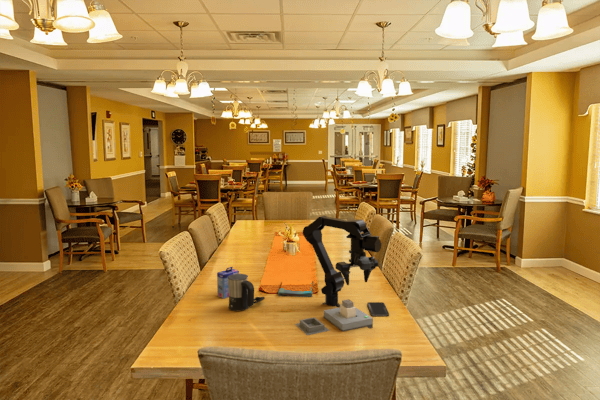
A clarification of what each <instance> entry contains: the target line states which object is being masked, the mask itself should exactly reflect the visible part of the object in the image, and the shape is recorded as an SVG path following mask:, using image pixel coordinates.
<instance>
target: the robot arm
mask: <svg viewBox="0 0 600 400" xmlns="http://www.w3.org/2000/svg"><path fill="white" fill-rule="evenodd" d="M325 227H330V228H335V229H339V230H344V231H345V232H347V233H348V234H347V235H346V238H347V239H350V250H349V251H348V253H349V254H350V258H349V259H348V262H345V261H337V262H336V263H335V267H334V265H333V263H332V260H331V259H330V256H329V254H328V252H327V250H326V247H325V245H324V243H323V233H322V231H323V229H325ZM302 236H303V237H304V239H305V240H306V242H308V243H309V244H310V245H311V246H312V248H313V250H314V253H315V255H316V257H317V260H318V262H319V265H320V266H321V269H322V271H323V273H324V283H325V284H324V286H323V287H322V288H321V289H320V291H321V294H322V295H325V296H324V300H325V301H324V302H322V304H321V305H323V306H325V305H327V306H330V307H336V308H340V303H339V293H338V292H341V291H342V288H344V285H345V284H346V285H347V286H349V285H350V274H351V271H350V270H351V269H352V268H357V267H359V269H360V270H361V271H363V279H364V283H368V280H369V278H370V275H371V272H372V271H373V270H375V269H376V268H377V267H379V261H378V259H376V258H375V256H367V253H366V251H367V252H373V253H379V252H380V251H381V249H382V241H381V239H380V236H379V235H372V233H371V232H370V230H369V228H368V226H367V224H366V222H365V220H364V219H342V218H338V217H337V218H336V217H330V216H327V215H321V216H318V217H317V218H316V219H315V220H314V221H312V222H311V223H310V224H308V225H306V226H304V228H303V230H302Z"/></svg>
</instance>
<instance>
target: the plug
mask: <svg viewBox="0 0 600 400" xmlns="http://www.w3.org/2000/svg"><path fill="white" fill-rule="evenodd" d="M339 304H340V303H339ZM355 307H356V306H354V302H353V301H352V300H350V299H343V300H341V304H340V306H339V308H340V314H341V315H342V316H343V317H345V318H346V319H347V318H352V317H356V308H357V307H356V308H355Z"/></svg>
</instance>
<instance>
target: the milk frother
mask: <svg viewBox="0 0 600 400" xmlns="http://www.w3.org/2000/svg"><path fill="white" fill-rule="evenodd" d="M248 276H249V275H248V274H244V273H239V274H232V275H229V276H228V277H227V278H228V288H229V297H228V310H230V311H234V312H241V311H246V310H248V309H249V308H251V307H253V306H254V305H255V304H258V303H260V302H262V301H264V300H265V296H255V286H254V284H253V283H252V282H251V281H249V280H248Z"/></svg>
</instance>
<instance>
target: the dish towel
mask: <svg viewBox="0 0 600 400" xmlns="http://www.w3.org/2000/svg"><path fill="white" fill-rule="evenodd" d="M311 284H312V283H311ZM313 292H314V291H313ZM313 292H312V291H311V287H310V291H304V292H303V291H292V290H291V291H290V290H285V289H284V288H280V287H279V289H278V291H277V296H278V297H291V298H292V297H295V298H296V297H297V298H311V297H313Z"/></svg>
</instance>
